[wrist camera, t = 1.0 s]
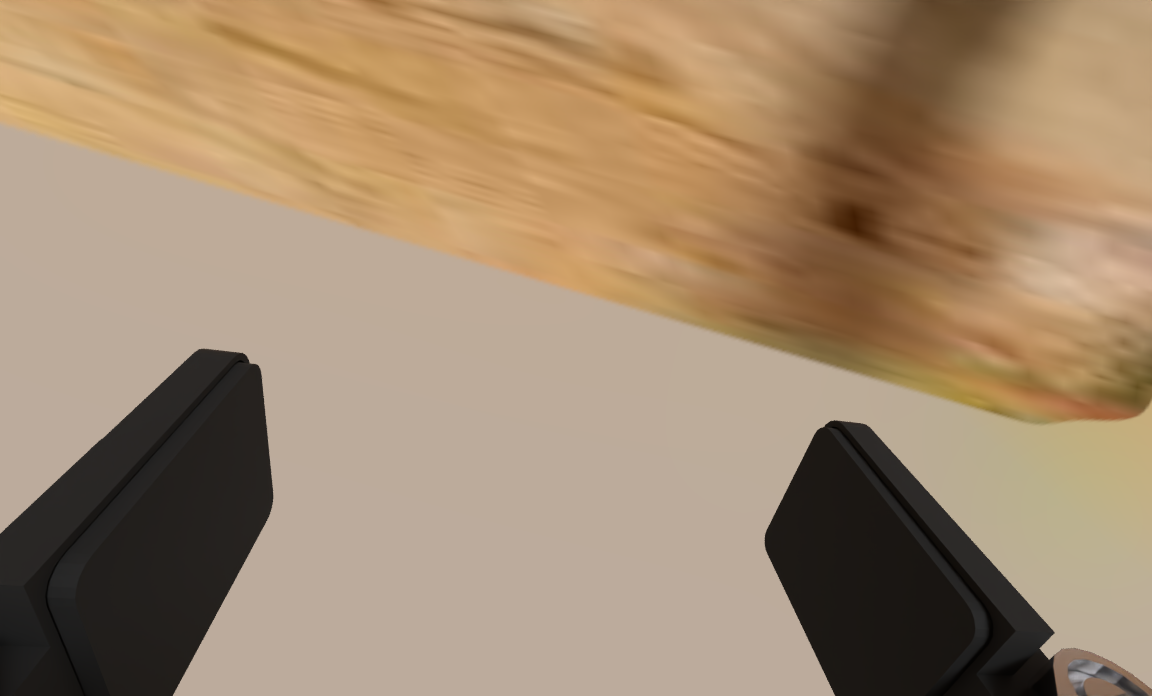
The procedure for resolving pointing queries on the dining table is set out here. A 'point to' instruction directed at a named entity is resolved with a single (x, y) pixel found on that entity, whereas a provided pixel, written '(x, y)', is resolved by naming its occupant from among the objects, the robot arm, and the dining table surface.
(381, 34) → the dining table surface
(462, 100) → the dining table surface
